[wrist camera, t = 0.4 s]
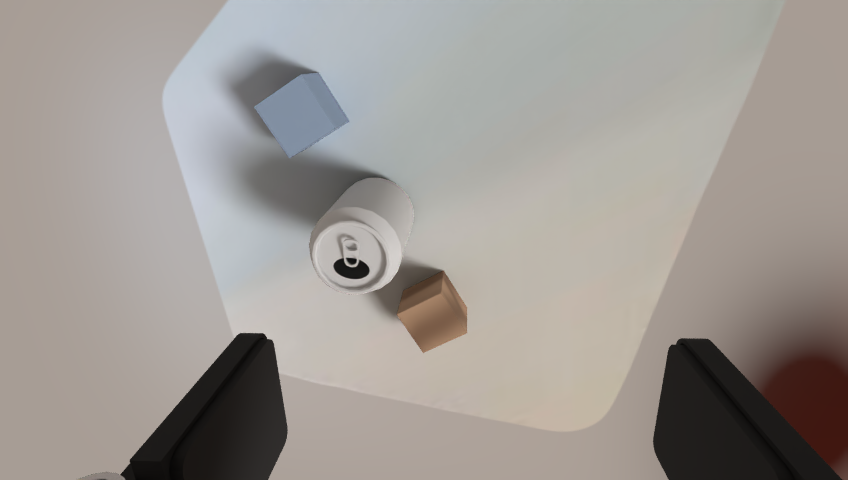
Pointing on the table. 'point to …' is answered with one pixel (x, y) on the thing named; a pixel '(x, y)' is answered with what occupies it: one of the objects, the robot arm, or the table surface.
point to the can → (362, 237)
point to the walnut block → (433, 312)
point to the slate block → (301, 113)
